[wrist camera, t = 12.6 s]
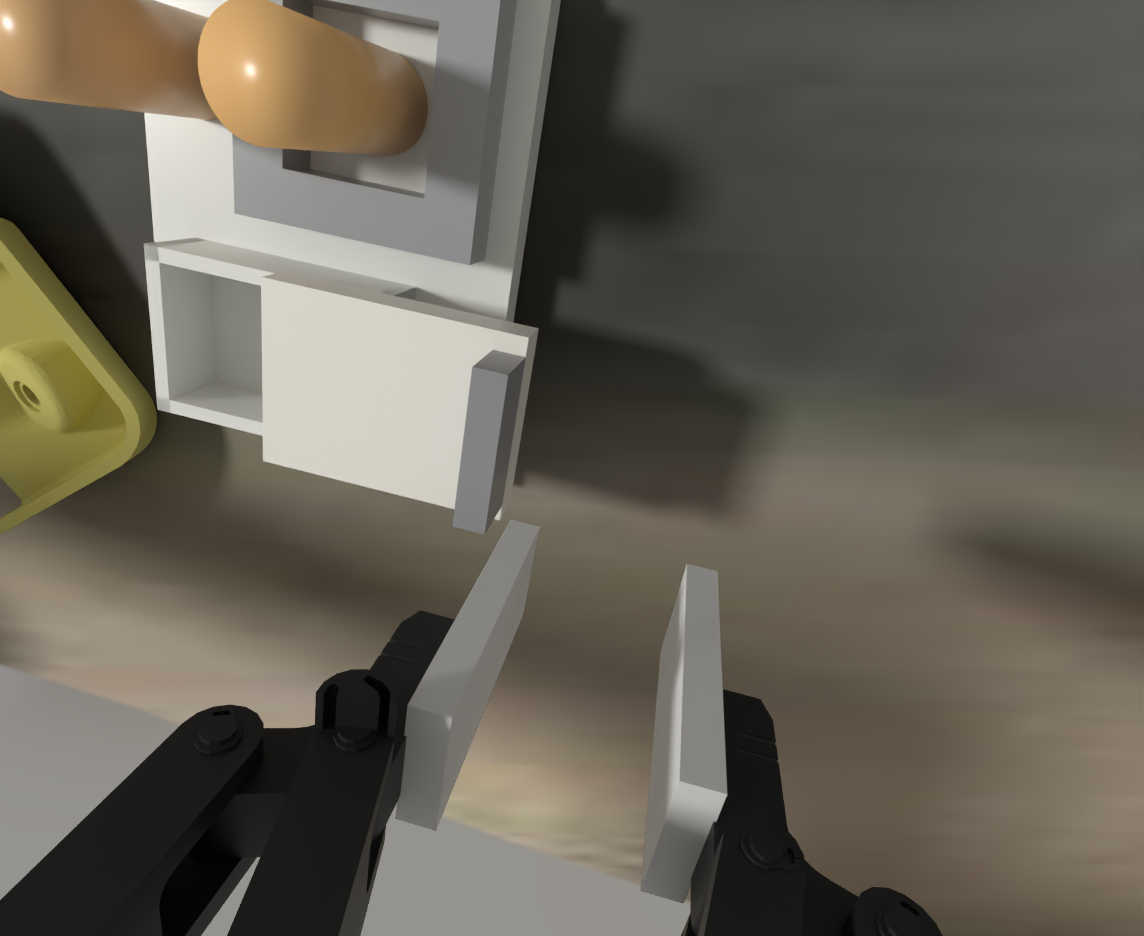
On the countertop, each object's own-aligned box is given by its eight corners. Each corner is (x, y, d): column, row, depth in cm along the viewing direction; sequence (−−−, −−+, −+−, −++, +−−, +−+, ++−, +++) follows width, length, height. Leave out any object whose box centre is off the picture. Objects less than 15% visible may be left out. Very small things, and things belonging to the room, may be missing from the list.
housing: (188, 400, 34) (16, 475, 26) (158, -88, 26) (-112, -219, 17) (491, 474, 33) (416, 580, 24) (562, -14, 24) (488, -117, 16)
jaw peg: (338, 147, 27) (202, 136, 19) (338, 41, 25) (192, -13, 18) (425, 162, 26) (320, 157, 19) (430, 56, 25) (319, 6, 18)
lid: (285, 446, 29) (225, 485, 25) (285, 271, 26) (217, 286, 22) (510, 502, 28) (481, 551, 24) (538, 328, 25) (511, 354, 21)
